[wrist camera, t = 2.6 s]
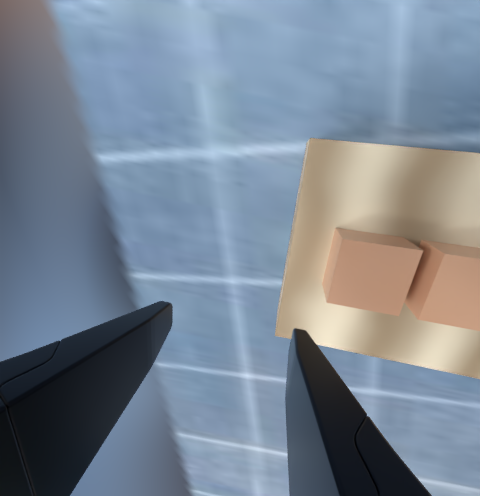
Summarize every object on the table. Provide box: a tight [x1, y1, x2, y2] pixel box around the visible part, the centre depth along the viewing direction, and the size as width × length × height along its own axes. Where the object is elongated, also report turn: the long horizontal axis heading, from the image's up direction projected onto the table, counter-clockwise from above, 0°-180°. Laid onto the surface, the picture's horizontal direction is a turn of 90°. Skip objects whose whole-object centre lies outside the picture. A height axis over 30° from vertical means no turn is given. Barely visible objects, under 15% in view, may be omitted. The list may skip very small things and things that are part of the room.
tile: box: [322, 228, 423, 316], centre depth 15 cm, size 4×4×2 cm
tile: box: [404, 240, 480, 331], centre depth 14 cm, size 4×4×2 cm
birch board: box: [275, 138, 480, 379], centre depth 18 cm, size 14×14×4 cm
